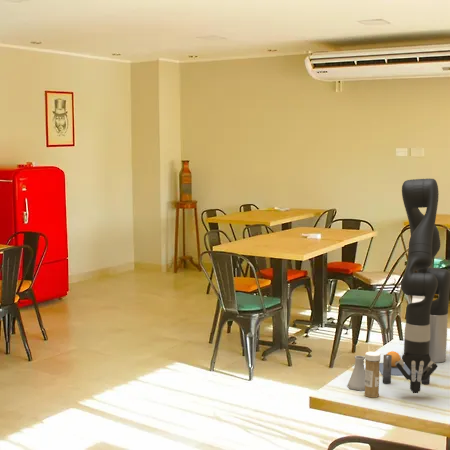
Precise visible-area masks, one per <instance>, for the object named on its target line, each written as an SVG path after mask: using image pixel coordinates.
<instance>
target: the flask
mask: <svg viewBox="0 0 450 450" xmlns="http://www.w3.org/2000/svg"><path fill="white" fill-rule="evenodd" d="M354 359H355V361H354V362H355V363H354V367H353V370H352V373H351V375H350V377H349V380H348V383H347V384H346V385H347V387H348V389H350V390H354V391H365V363H364V361H365V355H355V356H354Z"/></svg>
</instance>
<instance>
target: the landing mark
mask: <svg viewBox="0 0 450 450" xmlns="http://www.w3.org/2000/svg"><path fill="white" fill-rule="evenodd" d="M403 364H404V367H403V369H404V370H405V371H406V372H407V374H409V375H410V371H409V368H408V367H407V366H406V364H405V363H403ZM379 373H380V374H381V376H383V362H379ZM391 376H397V377H398V376H400V377H404V375H403V374H402V373H401V371H400V370H399V369H398V368H397V366H396V367H391ZM415 377H416V374H415Z"/></svg>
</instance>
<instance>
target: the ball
mask: <svg viewBox="0 0 450 450" xmlns="http://www.w3.org/2000/svg"><path fill="white" fill-rule="evenodd" d="M385 355H391V356H392V363H391V367H396V364H395V362H396V361H400V360H401V359H402V356H401V355H400V354H399V353H398V352H396V351H393V350H392V351H388V352H387V353H386V354H385Z"/></svg>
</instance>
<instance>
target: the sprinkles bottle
mask: <svg viewBox="0 0 450 450" xmlns="http://www.w3.org/2000/svg"><path fill="white" fill-rule="evenodd" d="M364 357H365V359H364V361H365V365H364V369H365V390H364V396H365V397H367V398H377V397H379V396H380V393H379V392H380V371H379V363H380V361H381V353H380V352H378V351H366V352H365V354H364Z"/></svg>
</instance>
